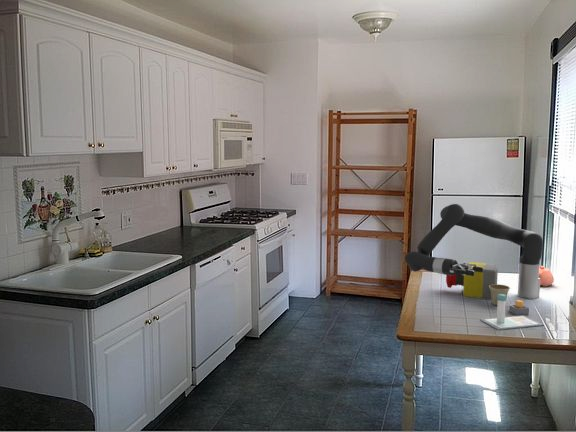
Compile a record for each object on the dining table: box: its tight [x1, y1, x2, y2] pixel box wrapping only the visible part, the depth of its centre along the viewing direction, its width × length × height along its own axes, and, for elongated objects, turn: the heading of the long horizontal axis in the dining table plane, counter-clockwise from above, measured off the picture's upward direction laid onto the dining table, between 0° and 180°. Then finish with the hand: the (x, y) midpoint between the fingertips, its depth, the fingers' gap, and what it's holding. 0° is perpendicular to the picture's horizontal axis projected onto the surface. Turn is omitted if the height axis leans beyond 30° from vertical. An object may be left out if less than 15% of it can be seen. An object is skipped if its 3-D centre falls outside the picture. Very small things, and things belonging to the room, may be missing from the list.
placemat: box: [480, 315, 544, 331], centre depth 238 cm, size 22×13×1 cm, turn 103°
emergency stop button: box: [445, 261, 499, 300], centre depth 282 cm, size 15×24×15 cm, turn 65°
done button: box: [514, 299, 525, 308], centre depth 251 cm, size 4×4×4 cm
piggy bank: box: [539, 265, 555, 288], centre depth 298 cm, size 12×14×10 cm
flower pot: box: [489, 283, 511, 306], centre depth 264 cm, size 9×9×9 cm
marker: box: [496, 294, 507, 323], centre depth 236 cm, size 3×3×12 cm
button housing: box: [508, 304, 530, 316], centre depth 251 cm, size 6×6×3 cm
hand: (478, 271), depth 242 cm, fingers open, 8 cm apart
